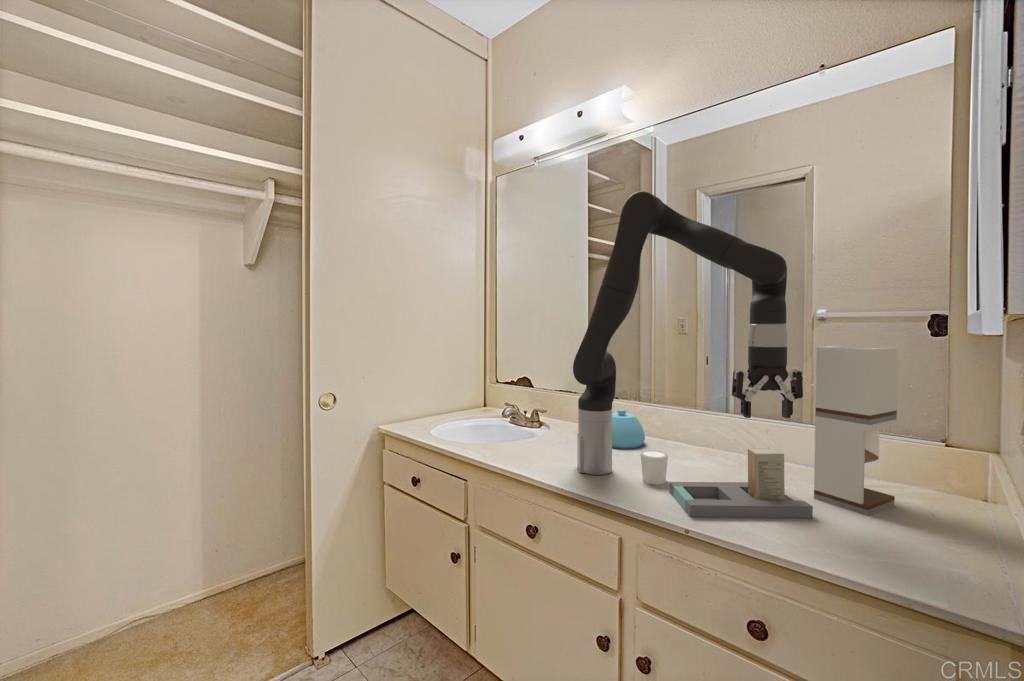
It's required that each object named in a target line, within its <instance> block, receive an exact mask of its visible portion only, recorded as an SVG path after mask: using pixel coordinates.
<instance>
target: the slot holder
mask: <svg viewBox="0 0 1024 681" xmlns="http://www.w3.org/2000/svg"><path fill="white" fill-rule="evenodd" d="M668 487H669V491H668V492H669V493H670V495H671V496H672V497H673V498H674V499H675V501H676V500H677V501H676V502H677V503H678V505H679V506H680V507H681V506H682V507H681V508H682V509H683V510H684V511H685V513H686V514H687V515H688V516H689V517H690V518H743V519H744V518H746V519H747V518H750V519H752V518H753V519H755V518H756V519H757V518H759V519H769V518H770V519H813V514H814V513H813V512H814V510H813V509H814V506H813V505H811V504H810V503H808V502H807V501H805V500H803V498H800V497H799V496H797V495H796V494H794V493H793V492H791V491H790V490H788V489H787V488H786V487H784V491H785V501H778V500H755V499H754V498H753V497H751V496H750V495H749V494H748V481H747V482H746V481H745V482H741V481H735V482H734V481H726V482H725V481H722V482H721V481H669V486H668ZM694 498H718V499H694Z"/></svg>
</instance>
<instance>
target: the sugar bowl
mask: <svg viewBox="0 0 1024 681" xmlns="http://www.w3.org/2000/svg"><path fill="white" fill-rule="evenodd" d="M616 411H617V412H612V448H615V449H623V450H625V449H636V448H639V447H641V445H643V444H644V442H645V440H646V435H645V431H644V428H643V425H642V424H641V422H640V421H639V419H638V418H637V415H635V414H633V413H629V412H627V409H623V408H620V409H617V410H616Z"/></svg>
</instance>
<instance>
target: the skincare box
mask: <svg viewBox="0 0 1024 681" xmlns="http://www.w3.org/2000/svg"><path fill="white" fill-rule="evenodd" d="M747 482H748V494H749V495H750V496H751V497H753V498H754V499H755V500H778V501H785V491H784V488H785V453H784V452H782V451H780V450H778V449H776V448H747Z"/></svg>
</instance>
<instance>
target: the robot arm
mask: <svg viewBox="0 0 1024 681" xmlns="http://www.w3.org/2000/svg"><path fill="white" fill-rule="evenodd" d="M649 234H652V235H654V236H658V237H659V236H660V237H662V238H665V239H668V240H671V241H673V242H675V243H677V244H679V245H681V246H683V247H684V248H686V249H687V250H690V251H691V252H693V253H695V254H697V255H698V256H700V257H702V258H704V259H706V260H708V261H710V262H712V263H714V264H717V265H719V266H720V267H722V268H725V269H729V270H732V271H735V272H736V273H738V274H740V275H742V276H744V277H746V278H747V279H750V280H751V301H750V306H749V326H748V327H749V329H748V335H747V336H748V338H747V344H748V345H747V365H748V368H747V370H746V371H741V370H734V371H733V373H732V385H731V386H732V387H731V396H732V397H734V398H737V399H739V400H740V413H741V415H742V417H743V418H746V419H751V417H752V401H751V400H752V398H753V397H754V396H755V395H757V394H758V392H759V391H761V392H762V391H763V392H764V391H765V392H766V391H773V392H777V393H779V395H780V396H781V397H782V400H781V416H782V418H785V419H790V418H791V417H792V416H793V413H794V401H795V400H798V399H802V398H803V397H804V389H803V388H804V387H803V373H802V371H799V370H797V369H796V370H794V369H791V370H789V371H788V370H787V365H788V328H787V301H786V293H787V292H786V291H787V283H788V282H787V279H788V265H787V261H786V260H785V258H784V257H783V256H782V255H781V254H779V253H777V252H775V251H772V250H770V249H767V248H765V247H761V246H759V245H755V244H752V243H750V242H747V241H745V240H743V239H742V238H740V237H737V236H735V235H734V234H733V235H732V234H731V233H729V232H726V231H724V230H721V229H719V228H717V227H715V226H714V227H713V226H710V225H708V224H704V223H702V222H699V221H697V220H694V219H691V218H689V217H687V216H685V215H682V214H681V213H680V212H677V211H676V210H674V209H673V208H671V207H670V206H668V205H667V204H666V203H665V202H663V201H662V200H661V198H660V197H658V196H656V195H654V194H652V193H650V192H648V191H636V192H634V193H632V194H631V195H630V196H628V198H627V199H626V200H625V201H624V204H623V206H622V207H621V211H620V216H619V221H618V226H617V231H616V235H615V236H616V237H615V240H614V244H613V247H612V251H611V253H610V256H609V259H608V262H607V265H606V268H605V271H604V274H603V277H602V280H601V283H600V286H599V290H598V293H597V296H596V300H595V304H594V307H593V309H592V312H591V316H590V318H589V322H588V325H587V329H586V331H585V334H584V336H583V339H582V341H581V343H580V345H579V348H578V350H577V352H576V355H575V357H574V361H573V364H572V372H573V376H574V379H575V380H576V381H577V382H578V383H579V384H581V385H584V386H585V390H584V392H583V393H582V394H581V395H580V396H579V398H578V399H577V400H578V402H577V404H578V405H577V407H578V409H577V411H578V415H577V416H578V418H577V420H578V423H577V426H578V428H577V430H578V431H577V432H578V433H577V437H576V442H577V445H576V446H577V449H576V450H577V451H576V452H577V454H576V456H577V457H576V458H577V462H576V464H577V469H578V472H579V473H580V474H586V475H592V476H593V475H595V476H600V475H601V476H603V475H608V474H610V473H612V472H613V447H612V413H613V402H614V400H615V396H616V388H617V387H616V386H617V385H616V384H617V364H616V361H615V358H614V357H613V355H612V354H611V353H610V352H608V351H607V350H608V347H609V344H610V342H611V339H612V337H613V336H614V334H615V333H616V331H617V330H618V329H619V328H620V327H621V325H622V324H623V322H624V321H625V319H626V317H627V316H628V315H629V312H630V311H631V309H632V306H633V303H634V300H635V298H636V294H637V291H638V287H639V281H640V270H641V267H640V266H641V256H642V252H643V249H644V245H645V242H646V240H647V238H648V236H649ZM746 378H747V379H748V380H749V381H748V383H747V384H746V386H745V387H744V382H745V380H746ZM787 379H788V380H789V381H790V382H789V383H790V388H789V387H788V385H787V384H786V383H785V381H787ZM743 387H744V388H743ZM743 389H744V390H743Z"/></svg>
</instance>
